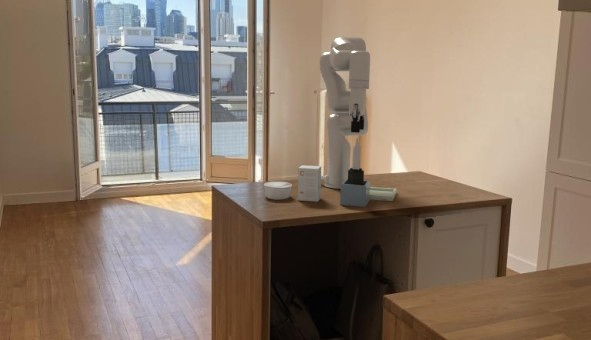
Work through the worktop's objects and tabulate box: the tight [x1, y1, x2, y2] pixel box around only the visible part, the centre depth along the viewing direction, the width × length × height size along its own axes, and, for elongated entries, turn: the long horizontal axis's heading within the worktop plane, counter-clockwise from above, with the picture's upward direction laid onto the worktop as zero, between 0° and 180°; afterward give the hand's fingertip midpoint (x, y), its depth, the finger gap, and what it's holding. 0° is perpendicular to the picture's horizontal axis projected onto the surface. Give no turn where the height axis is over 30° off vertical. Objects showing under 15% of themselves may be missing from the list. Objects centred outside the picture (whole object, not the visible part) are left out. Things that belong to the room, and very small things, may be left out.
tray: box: [369, 186, 397, 202], centre depth 243 cm, size 15×15×2 cm
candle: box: [348, 138, 365, 185], centre depth 228 cm, size 5×5×25 cm
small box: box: [297, 164, 322, 203], centre depth 234 cm, size 8×6×13 cm
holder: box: [339, 179, 371, 208], centre depth 230 cm, size 10×10×8 cm
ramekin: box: [263, 181, 293, 201], centre depth 238 cm, size 11×11×5 cm
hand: (357, 130), depth 225 cm, fingers open, 9 cm apart
